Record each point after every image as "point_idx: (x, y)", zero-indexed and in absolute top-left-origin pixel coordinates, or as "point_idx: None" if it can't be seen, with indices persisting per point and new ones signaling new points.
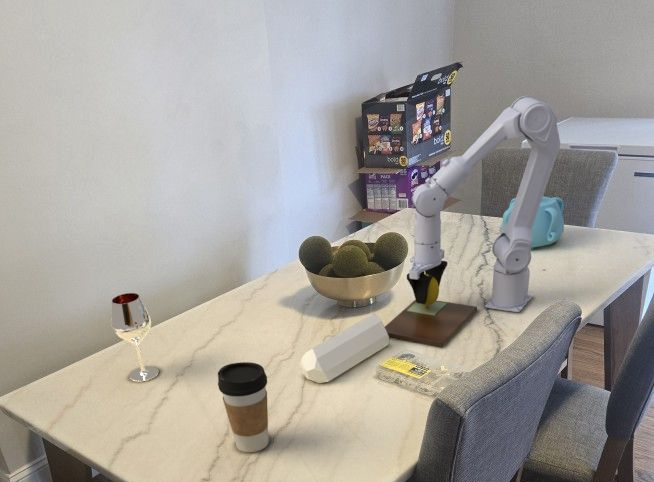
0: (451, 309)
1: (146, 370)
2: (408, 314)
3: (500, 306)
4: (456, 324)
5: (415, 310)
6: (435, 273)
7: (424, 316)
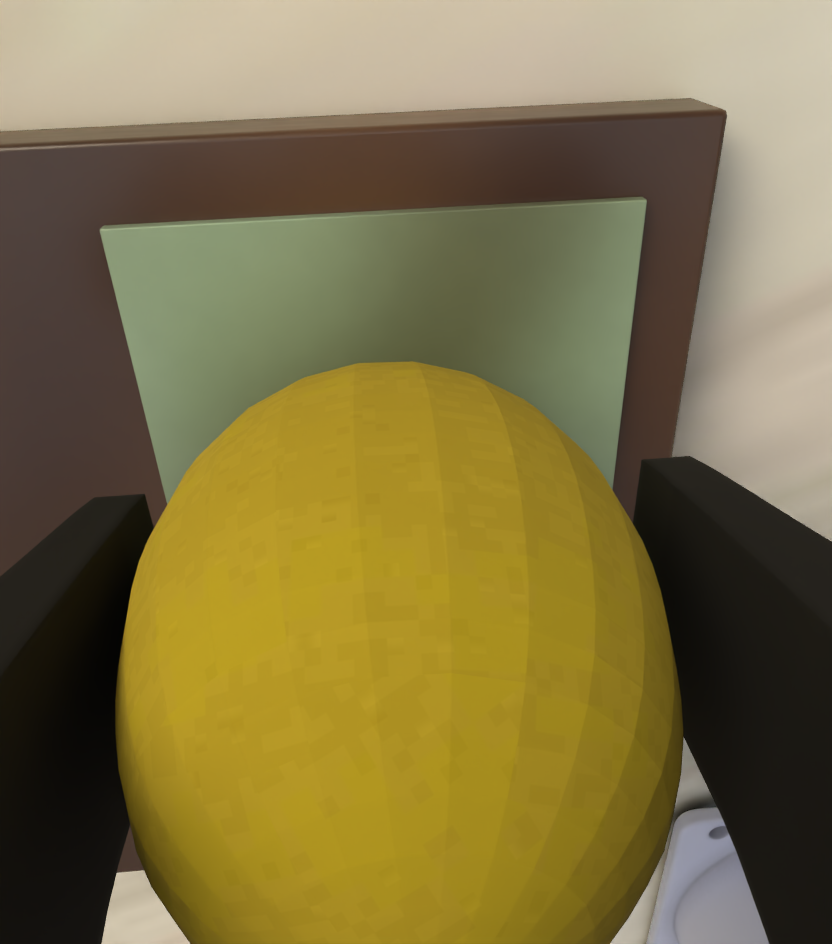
0: None
1: None
2: (4, 319)
3: (683, 912)
4: (130, 853)
5: (173, 367)
6: (828, 934)
7: None
